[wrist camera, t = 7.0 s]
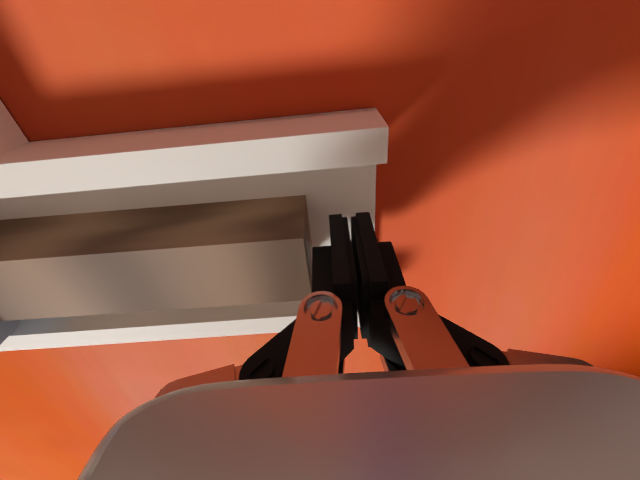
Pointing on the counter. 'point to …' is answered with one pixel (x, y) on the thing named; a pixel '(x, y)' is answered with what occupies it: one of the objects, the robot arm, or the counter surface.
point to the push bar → (156, 259)
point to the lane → (190, 199)
